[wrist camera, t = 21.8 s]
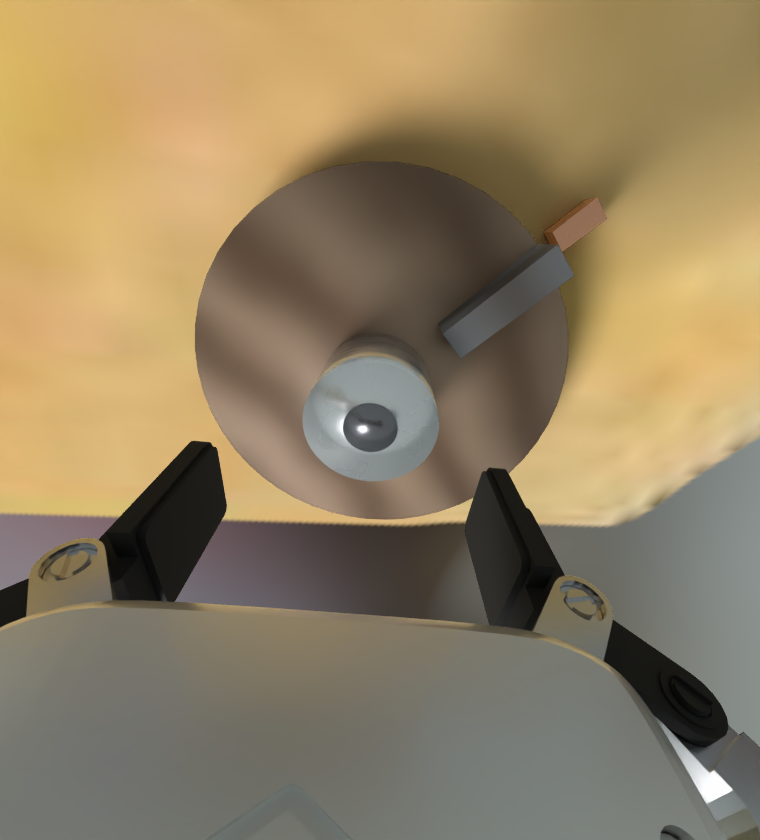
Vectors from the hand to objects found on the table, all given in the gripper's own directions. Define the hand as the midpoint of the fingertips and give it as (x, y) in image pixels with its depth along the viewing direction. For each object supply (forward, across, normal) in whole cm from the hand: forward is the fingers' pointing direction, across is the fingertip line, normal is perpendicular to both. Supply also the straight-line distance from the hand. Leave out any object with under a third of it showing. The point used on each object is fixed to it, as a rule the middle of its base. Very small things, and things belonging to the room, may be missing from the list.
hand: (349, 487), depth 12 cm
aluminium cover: (+10, -1, 0) cm, 10 cm away
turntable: (+12, -1, 0) cm, 12 cm away
